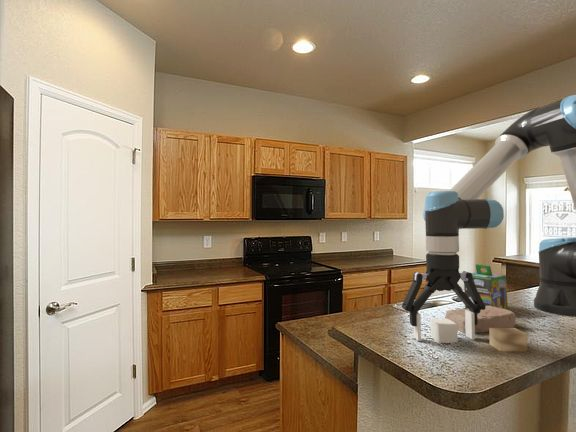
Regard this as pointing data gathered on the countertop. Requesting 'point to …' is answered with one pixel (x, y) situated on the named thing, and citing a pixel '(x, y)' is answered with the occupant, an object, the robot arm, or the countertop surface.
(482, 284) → the chalk box
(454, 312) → the brick
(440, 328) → the beige cube
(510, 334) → the oak block
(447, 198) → the robot arm
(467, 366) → the countertop surface
